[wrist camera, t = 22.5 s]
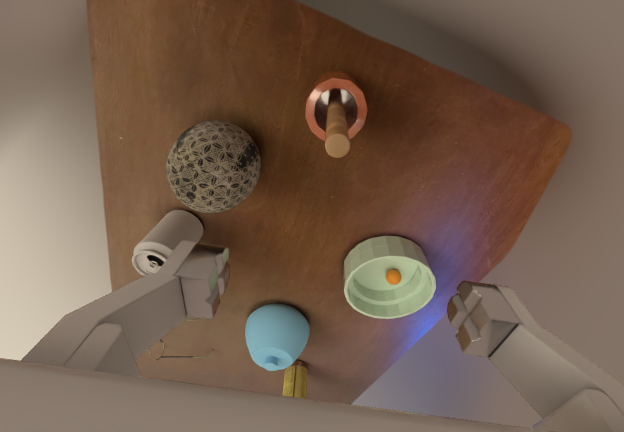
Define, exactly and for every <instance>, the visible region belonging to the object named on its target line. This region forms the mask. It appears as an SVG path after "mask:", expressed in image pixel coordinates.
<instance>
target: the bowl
mask: <svg viewBox="0 0 624 432" xmlns="http://www.w3.org/2000/svg"><path fill="white" fill-rule="evenodd" d="M391 269H395V270H397V271H399V272H400V274H401V277H402V279H401V281H400V283H399V284H397V285H392V284H390V283H388V282H387V280H386V273H387V272H388V271H389V270H391ZM343 280H344V293H345V296H346V299H347V301H348V303H349V304H350V305H351V306H352V307H353V308H354V309H355V310H357V311H359V312H360V313H362V314H364V315H367V316H371V317H374V318H384V319H391V318H399V317H403V316H406V315H409V314H412V313H415V312H416V311H418V310H419V309H421V308H423V307H424V306H425V305H426V304H427V303H428V302H429V301H430V300H431V299H432V297H433V294H434V292H435V289H436V281H435V276H434V274H433V272H432V269H431V267H430V265H429V262H428V260H427V258H426V256H425V254H424V252H423V251H422V249H421V248H420V247H419V246H418V245H416V244H415V243H414V242H412V241H411V240H408V239H405V238H402V237H399V236H380V237H374V238H370V239H368V240H366V241H364V242H361V243H359V244H358V245H357V246H356V247H354V248H353V249H352V250H351V251H350V252H349V254H348V255H347V257H346V259H345V261H344V267H343Z"/></svg>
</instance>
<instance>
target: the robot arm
mask: <svg viewBox="0 0 624 432" xmlns="http://www.w3.org/2000/svg"><path fill="white" fill-rule="evenodd" d="M228 258H229V248H228V247H226V246H220V245H214V244H208V243H202V242H194V241H188V240H183V241H181V242H180V243H179V244H178V245H177V247H176V248H175V249H174V251H173V252H172V253H171V255H170V256H169V257H168V259H167V260H166V261H165V263H164V264H163V265H162V266H161V268H160V269H159V270H158V272H157V273H150V274H148V275H146V276H144V277H142V278H140V279H138V280H136V281H134V282H132V283H130V284H128V285H126V286H124V287H122V288H120V289H118V290H116V291H114V292H112V293H110V294H108V295H105V296H103V297H101V298H99V299H97V300H95V301H93V302H91V303H89V304H87V305H85V306H83V307H81V308H79V309H77V310H75V311H73V312H71V313H69V314H67V315H65V316H64V317H63V318H62V319H61V320H60V321H59V322H58V323H57V324H56V325H55V326H54V327H53V328H52V329H51V330H50V331H49V332H48V333H47V334H46V335H45V337H43V338H42V339H41V340H40V342H38V344H37V345H36V346H35V347H34V348H33V349H32V350H31V351H30V352H29V353H28V354H27V355H26V356H25V357H24V358H23V359H22V360H21V361H18V360H11V359H2V358H0V432H624V384H622V383H621V382H620V381H618V380H617V379H615V378H614V377H612V376H611V375H610V374H608V373H607V372H606V371H604V370H603V369H601V368H600V367H599V366H597V365H596V364H594V363H593V362H592V361H590V360H589V359H587V358H586V357H585V356H583V355H582V354H581V353H579V352H578V351H576V350H575V349H574V348H572V347H571V346H569V345H568V344H567V343H565V342H564V341H562V340H561V339H560V338H558V337H557V336H556V335H554V334H553V333H551V332H550V331H548V330H547V329H546V328H542V327H540V326H539V325H538V323H537V322H536V321H535V319H534V318H533V317H532V315H531V314H530V312H529V311H528V310H527V308H526V307H525V306H524V304H523V303H522V302H521V300H520V299H519V298H518V296H517V295H516V293H515V292H514V291H513V289H511V288H510V287H508V286H502V285H494V284H493V285H491V284H485V283H478V282H470V281H463V282H461V283H460V284H459V286H458V287H457V290H458V294H456V295H454V296H452V297H451V299H450V301H449V302H448V307H447V313H448V318H449V320H450V323H451V324H452V325H453V326H454V327H455V328H456V329H457V333H456V337H457V340H458V342H459V344H460V347H461V349H462V351H463V354H467V355H474V356H480V357H486V358H489V360H490V361H491V363H492V364H493V365H494V366H495V367H496V368H497V369H498V370H499V371H500V372H501V374H502V375H503V376H504V377H505V378H506V379H507V380H508V381H509V382H510V383H511V384H512V386H513V387H514V388H515V389H516V390H517V391H518V392H519V393H520V394H521V395H522V396H523V398H524V399H525V400H526V401H527V402H528V403H529V404H530V405H531V406H532V407H533V409H534V410H535V411H536V412H537V413H538V414H539V415H540V416H541V417H542V418H543V419H542V420H541V421H539V422H538V423H536V424H535V425H534V426H533V428H524V427H517V426H509V425H502V424H494V423H486V422H479V421H472V420H464V419H456V418H449V417H441V416H434V415H426V414H419V413H411V412H404V411H396V410H388V409H381V408H374V407H366V406H358V405H351V404H343V403H335V402H328V401H320V400H313V399H305V398H297V397H290V396H282V395H275V394H267V393H260V392H252V391H244V390H237V389H229V388H222V387H214V386H207V385H199V384H191V383H184V382H176V381H169V380H161V379H154V378H146V377H141V374H140V371H139V369H138V366H137V364H136V361H135V359H136V358H138V357H139V356H140V355H141V354H143V353H144V352H145V351H146V350H148V349H149V348H150V347H151V346H152V345H154V344H155V343H156V342H157V341H159V340H160V339H161V338H162V337H164V336H165V335H166V334H167V333H168V332H170V331H171V330H172V329H173V328H175V327H176V326H177V325H178V324H180V323H181V322H182V321H183V320H185V319H186V316H187V317H196V318H205V319H213V318H214V315H215V313H216V311H217V308H218V306H219V304H220V295H221V294H222V293H224V292H225V290H226V287H227V284H228V280H229V276H230V265H229V264H228V263H227V260H228Z"/></svg>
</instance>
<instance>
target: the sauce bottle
mask: <svg viewBox="0 0 624 432" xmlns="http://www.w3.org/2000/svg"><path fill="white" fill-rule="evenodd" d="M307 376H308V370H307V365H306V364H305V363H304V362H303V361H298V360H295V361H294V362H293V363H292V364H291V365H290V366H289V367H287V368H286V370H285V378H284V388H283V396H290V397H297V398H305V399H307Z"/></svg>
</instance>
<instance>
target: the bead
mask: <svg viewBox="0 0 624 432" xmlns="http://www.w3.org/2000/svg"><path fill="white" fill-rule="evenodd" d="M401 279H402V277H401V274H400V272H399V271H397V270H395V269H391V270H389V271H388V272H387V273H386V280H387V282H388V283H390V284H392V285H397V284H399V283H400V281H401Z"/></svg>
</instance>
